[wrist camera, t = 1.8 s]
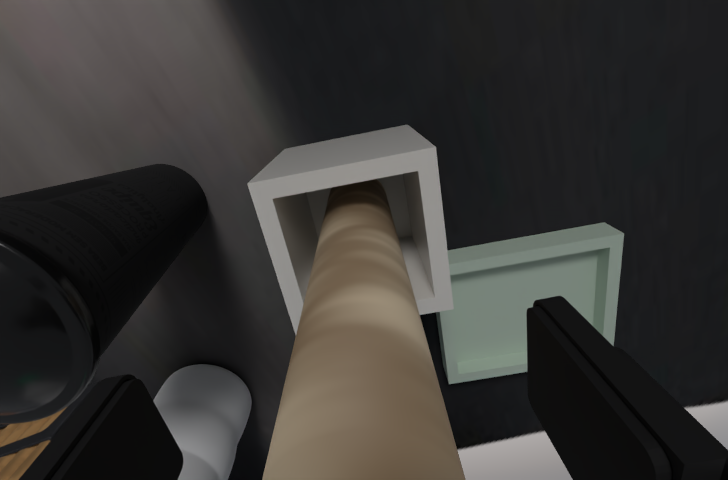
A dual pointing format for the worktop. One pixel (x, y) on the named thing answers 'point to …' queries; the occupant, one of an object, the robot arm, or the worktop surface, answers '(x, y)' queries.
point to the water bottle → (205, 418)
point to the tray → (524, 295)
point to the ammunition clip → (31, 439)
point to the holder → (346, 166)
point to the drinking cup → (82, 276)
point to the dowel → (361, 361)
